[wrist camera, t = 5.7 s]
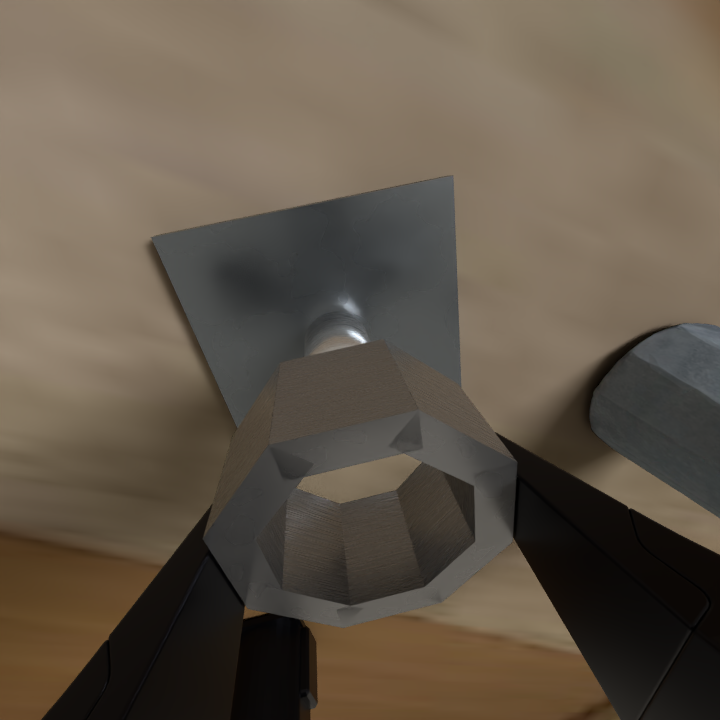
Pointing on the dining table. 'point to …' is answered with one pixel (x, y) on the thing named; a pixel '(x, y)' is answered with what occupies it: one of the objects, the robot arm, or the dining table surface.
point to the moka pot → (667, 409)
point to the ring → (367, 515)
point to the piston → (320, 283)
